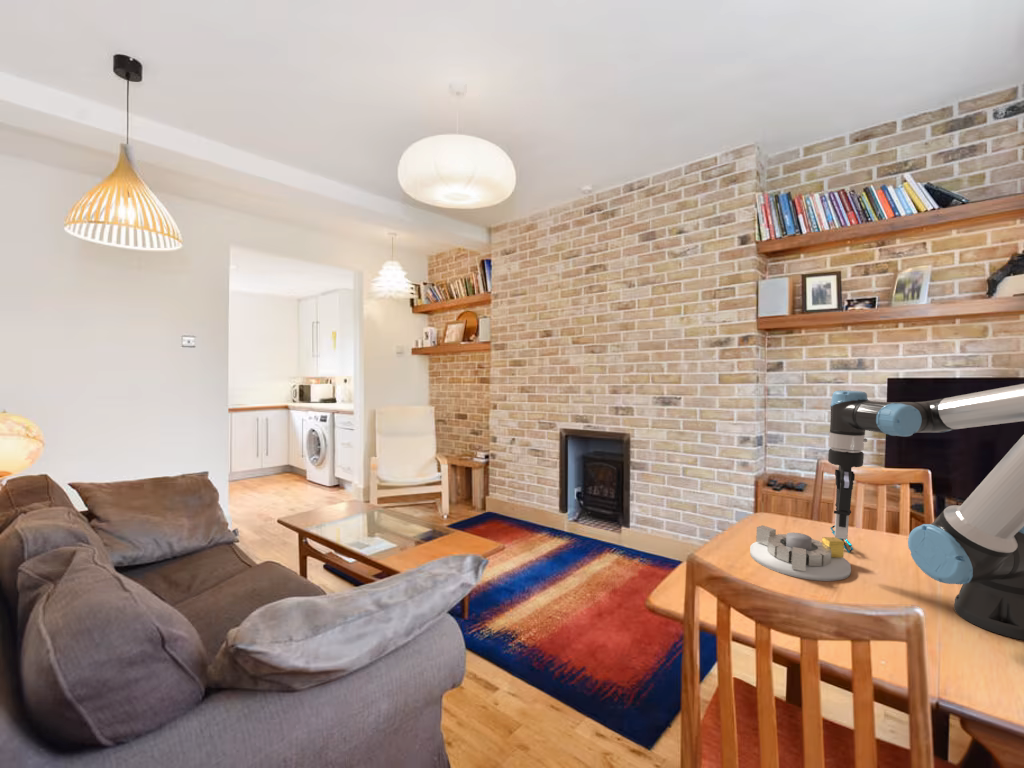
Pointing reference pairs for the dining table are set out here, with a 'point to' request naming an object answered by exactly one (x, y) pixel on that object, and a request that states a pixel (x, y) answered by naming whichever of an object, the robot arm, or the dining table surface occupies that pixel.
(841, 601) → the dining table surface
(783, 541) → the grey segmented ring
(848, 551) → the stick construction toy
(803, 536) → the white shallow round piece
